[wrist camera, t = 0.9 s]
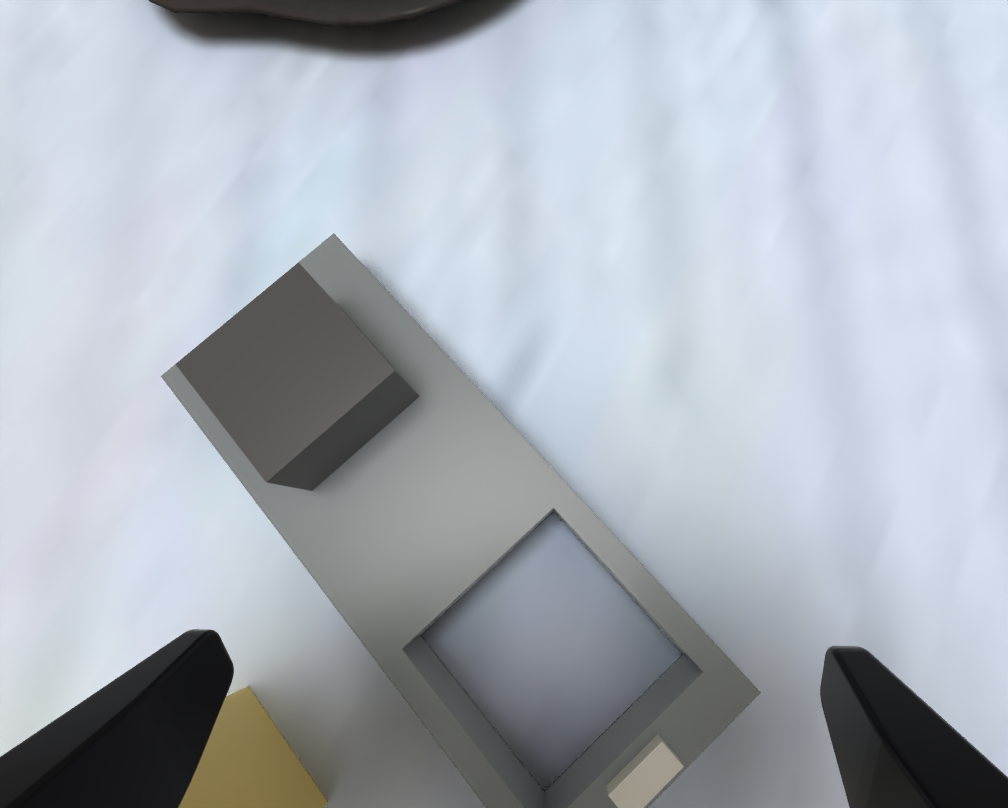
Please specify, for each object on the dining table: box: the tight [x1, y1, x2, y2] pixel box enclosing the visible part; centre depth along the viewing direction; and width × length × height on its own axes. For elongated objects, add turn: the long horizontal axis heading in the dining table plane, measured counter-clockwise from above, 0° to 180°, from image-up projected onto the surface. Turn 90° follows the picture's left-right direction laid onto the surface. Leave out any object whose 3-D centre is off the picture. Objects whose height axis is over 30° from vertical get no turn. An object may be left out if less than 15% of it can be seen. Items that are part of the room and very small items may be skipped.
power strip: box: [161, 234, 761, 808], centre depth 17 cm, size 8×20×6 cm, turn 42°
